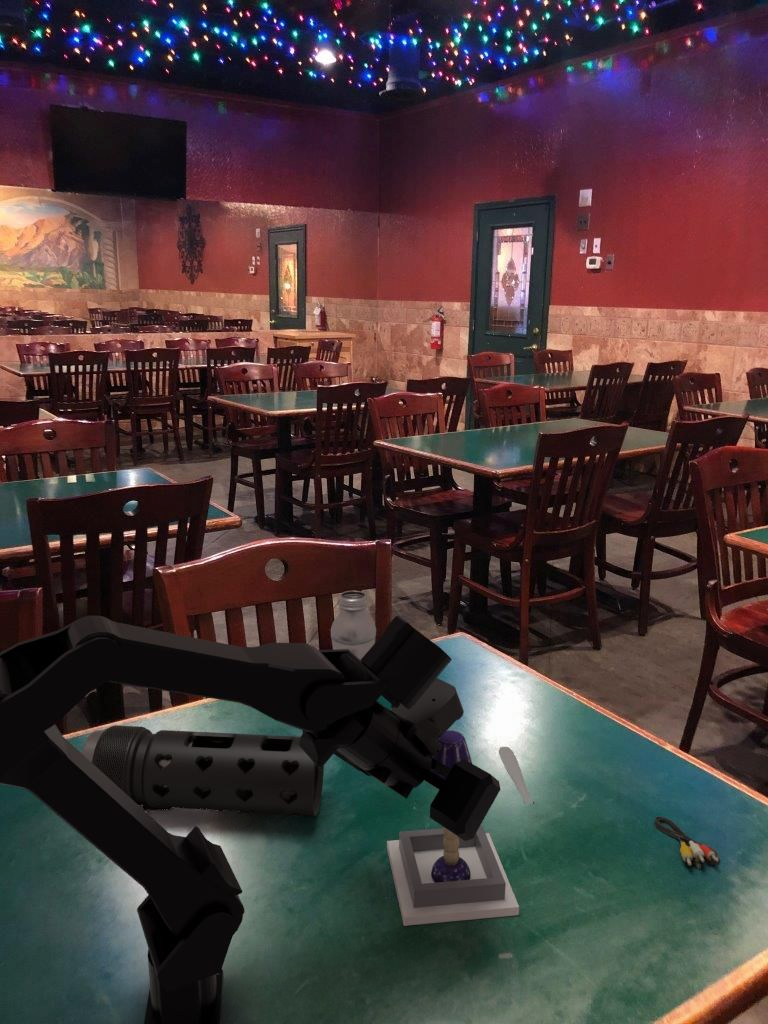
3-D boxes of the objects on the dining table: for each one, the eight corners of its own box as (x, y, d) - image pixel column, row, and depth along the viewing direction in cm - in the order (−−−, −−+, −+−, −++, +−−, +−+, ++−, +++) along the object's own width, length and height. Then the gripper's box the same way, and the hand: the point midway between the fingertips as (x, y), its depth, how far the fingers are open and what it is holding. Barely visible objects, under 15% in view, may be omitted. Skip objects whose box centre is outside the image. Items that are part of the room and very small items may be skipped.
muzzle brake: (313, 841, 96) (312, 763, 94) (79, 828, 98) (71, 751, 95) (324, 793, 105) (324, 720, 103) (110, 782, 107) (104, 710, 104)
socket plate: (518, 915, 85) (520, 890, 84) (403, 925, 84) (404, 900, 83) (488, 840, 97) (489, 818, 96) (386, 848, 95) (387, 825, 94)
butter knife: (517, 745, 116) (496, 745, 116) (579, 880, 91) (552, 880, 90) (517, 748, 117) (496, 748, 116) (578, 884, 91) (552, 885, 90)
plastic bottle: (323, 716, 124) (322, 590, 119) (364, 707, 127) (365, 584, 122) (339, 736, 118) (339, 606, 113) (382, 727, 121) (384, 599, 116)
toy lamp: (422, 884, 88) (424, 745, 84) (431, 856, 92) (433, 722, 88) (467, 892, 87) (472, 751, 82) (473, 863, 91) (478, 728, 87)
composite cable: (648, 822, 101) (650, 805, 100) (685, 820, 101) (688, 802, 101) (687, 878, 91) (690, 859, 91) (728, 875, 92) (731, 856, 91)
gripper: (492, 700, 73) (559, 766, 83) (355, 633, 86) (427, 697, 96) (426, 813, 70) (503, 868, 80) (294, 727, 83) (375, 782, 93)
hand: (449, 795), depth 87 cm, fingers open, 9 cm apart
